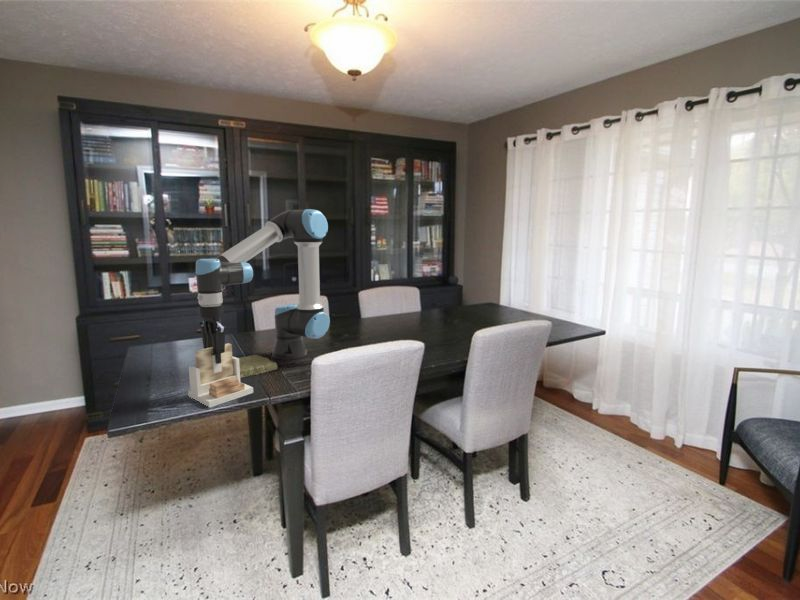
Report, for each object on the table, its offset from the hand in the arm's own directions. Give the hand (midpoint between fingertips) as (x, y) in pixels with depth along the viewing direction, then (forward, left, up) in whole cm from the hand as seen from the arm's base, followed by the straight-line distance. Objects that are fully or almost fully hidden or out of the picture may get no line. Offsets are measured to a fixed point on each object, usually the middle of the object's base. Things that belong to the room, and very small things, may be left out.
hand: (215, 371), depth 146 cm
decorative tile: (-20, -14, -9) cm, 26 cm away
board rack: (0, +3, -8) cm, 8 cm away
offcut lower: (0, +7, -6) cm, 9 cm away
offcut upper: (+1, +7, -4) cm, 8 cm away
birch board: (0, 0, -5) cm, 5 cm away
